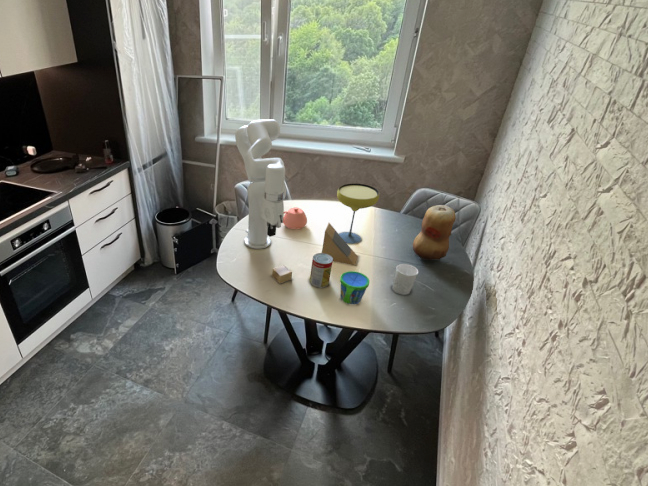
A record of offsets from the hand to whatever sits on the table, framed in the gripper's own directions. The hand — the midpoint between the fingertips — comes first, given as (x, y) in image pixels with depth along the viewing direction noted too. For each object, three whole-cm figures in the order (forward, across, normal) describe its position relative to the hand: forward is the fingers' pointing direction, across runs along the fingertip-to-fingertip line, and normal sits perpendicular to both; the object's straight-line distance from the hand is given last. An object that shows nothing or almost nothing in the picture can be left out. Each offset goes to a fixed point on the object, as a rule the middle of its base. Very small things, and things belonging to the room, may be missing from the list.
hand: (271, 235), depth 170 cm
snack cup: (+17, +34, +15) cm, 41 cm away
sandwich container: (+17, +9, +32) cm, 37 cm away
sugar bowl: (+17, -26, +32) cm, 44 cm away
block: (+17, +9, 0) cm, 19 cm away
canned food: (+17, +19, +12) cm, 28 cm away
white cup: (+17, +39, +37) cm, 57 cm away
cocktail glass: (+17, -2, +48) cm, 51 cm away
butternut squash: (+17, +28, +65) cm, 73 cm away
